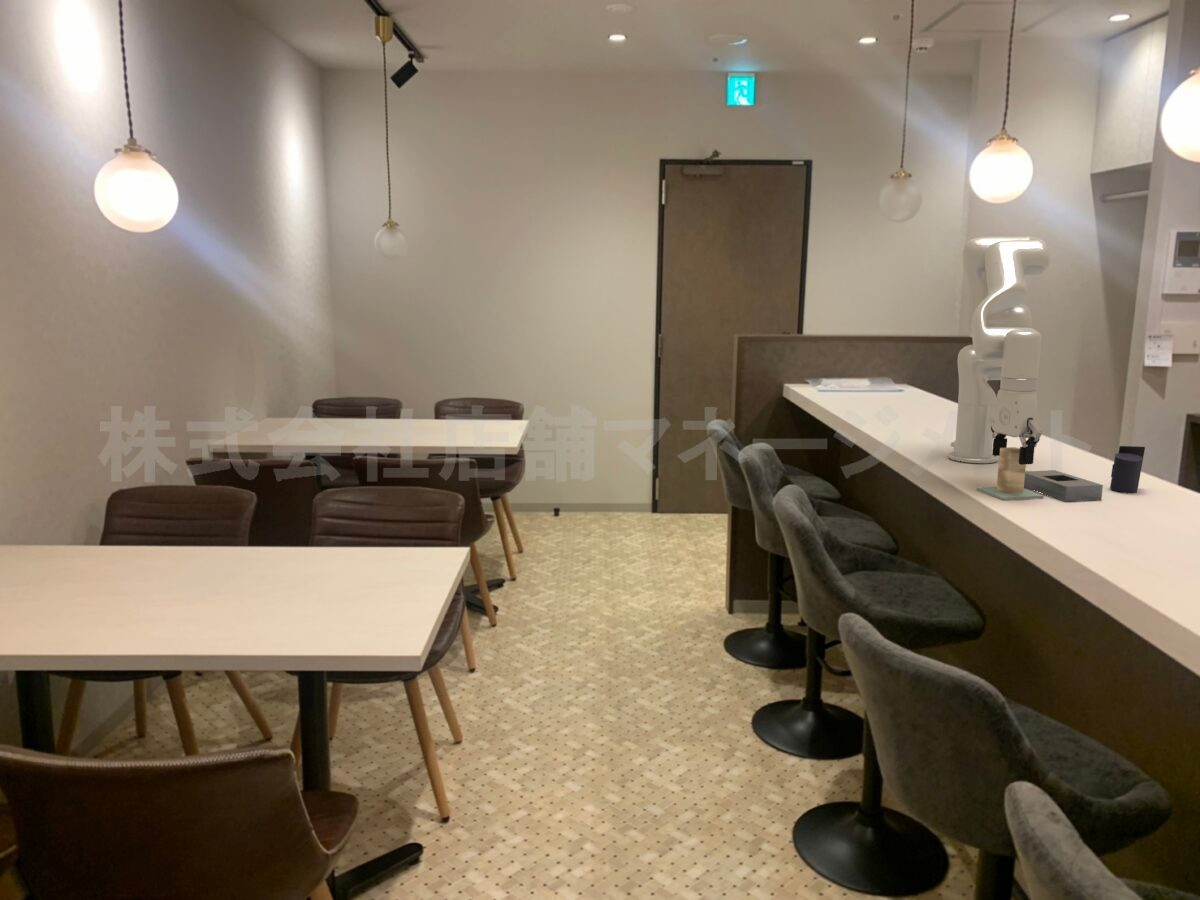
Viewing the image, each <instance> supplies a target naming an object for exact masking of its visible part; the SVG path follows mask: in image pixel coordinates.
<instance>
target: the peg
mask: <svg viewBox="0 0 1200 900" xmlns="http://www.w3.org/2000/svg"><path fill="white" fill-rule="evenodd" d="M1019 453H1020V447H1016V446H1013V447H1012V446H1011V447H1008V446H1007V448H1000V456H998V471H997V481H996V482H997V484H996V487H997V490H998V491H1001V492H1003V493H1006V494H1018V493H1023V491H1024V489H1025V488H1024V480H1025V471H1026V469H1027V467H1026V465H1027V464H1024V465H1021V464H1019Z"/></svg>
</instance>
